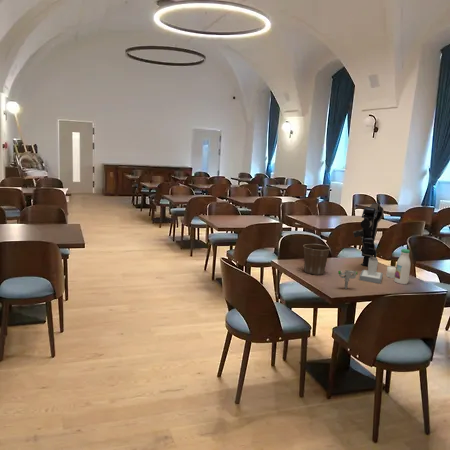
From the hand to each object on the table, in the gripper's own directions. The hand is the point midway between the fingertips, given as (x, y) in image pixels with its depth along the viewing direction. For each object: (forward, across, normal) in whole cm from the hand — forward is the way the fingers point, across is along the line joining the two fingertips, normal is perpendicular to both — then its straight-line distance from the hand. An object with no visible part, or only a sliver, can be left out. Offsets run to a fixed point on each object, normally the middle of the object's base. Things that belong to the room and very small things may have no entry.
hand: (364, 251), depth 277 cm
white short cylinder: (+13, +5, +17) cm, 22 cm away
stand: (+13, +15, +4) cm, 20 cm away
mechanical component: (+13, +43, -11) cm, 46 cm away
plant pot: (+13, +18, -30) cm, 37 cm away
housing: (+10, +15, +4) cm, 19 cm away
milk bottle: (+13, +15, +21) cm, 29 cm away
